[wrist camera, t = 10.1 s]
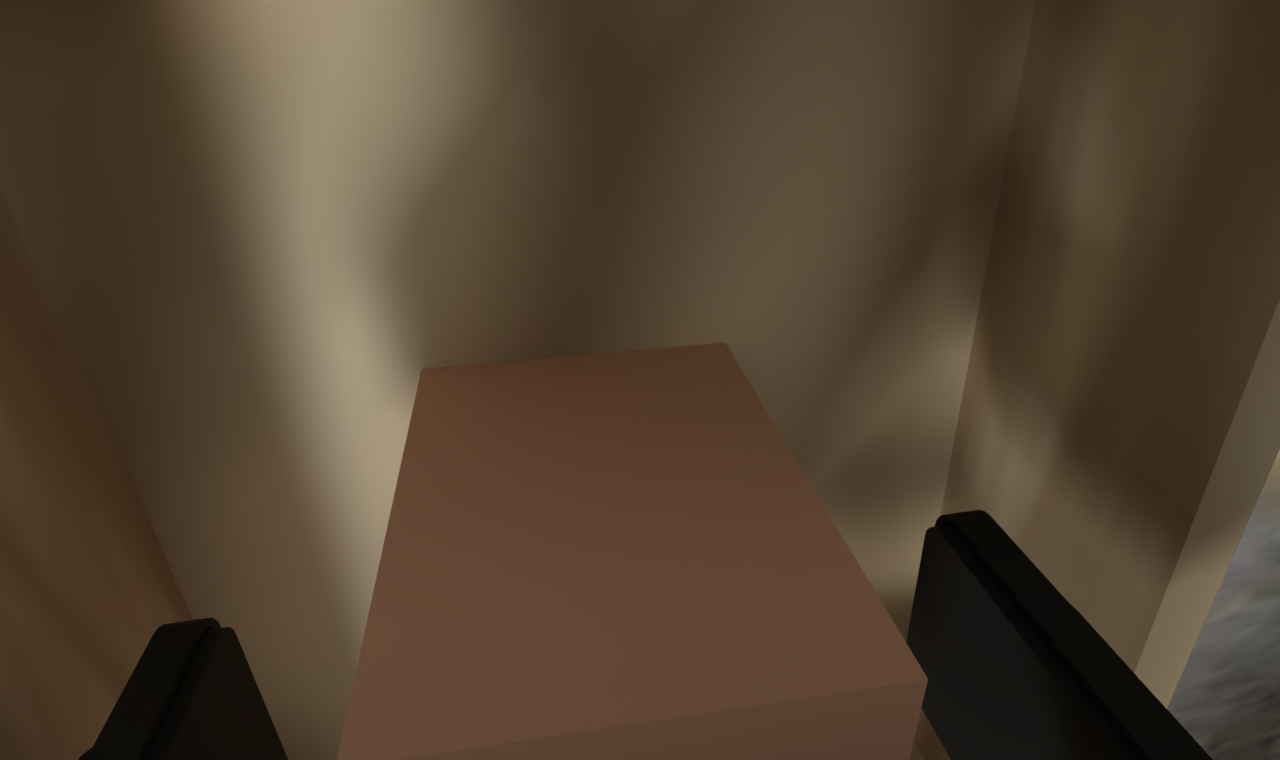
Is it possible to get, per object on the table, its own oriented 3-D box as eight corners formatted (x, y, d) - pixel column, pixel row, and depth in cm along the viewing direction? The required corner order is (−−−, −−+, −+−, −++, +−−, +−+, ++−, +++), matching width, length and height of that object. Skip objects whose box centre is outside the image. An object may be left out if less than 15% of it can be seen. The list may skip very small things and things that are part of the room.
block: (716, 568, 15) (861, 971, 9) (462, 600, 14) (431, 1056, 8) (725, 342, 13) (927, 679, 7) (421, 368, 12) (334, 768, 6)
